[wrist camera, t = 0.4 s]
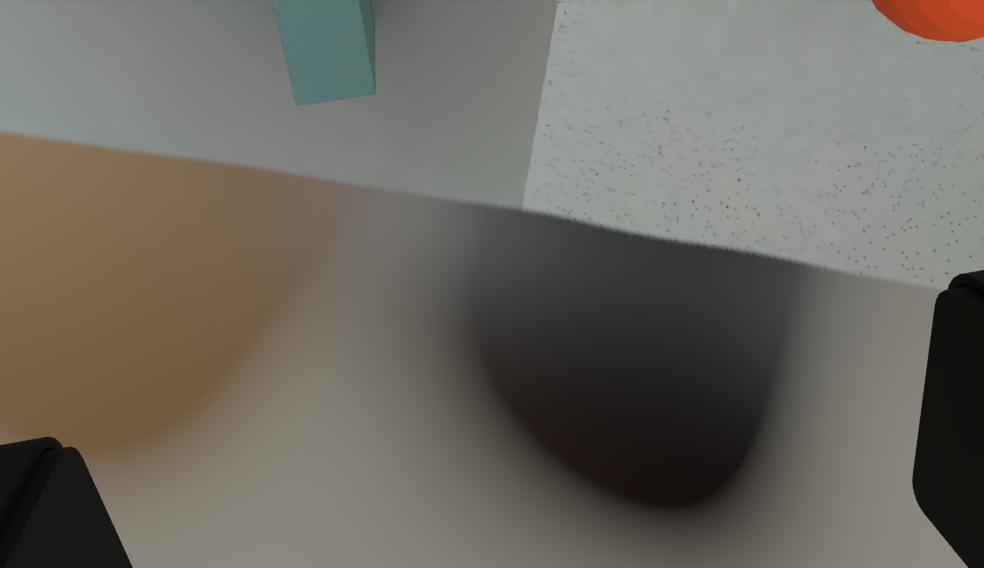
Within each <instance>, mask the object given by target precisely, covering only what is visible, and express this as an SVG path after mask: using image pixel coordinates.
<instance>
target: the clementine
mask: <svg viewBox="0 0 984 568" xmlns="http://www.w3.org/2000/svg"><path fill="white" fill-rule="evenodd" d="M872 2H873V4H874V5H875V7H876V9H877V10H879V11H880V12H881V13H882V14H883V15H885V16H886V17H887V18H888V19H889V20H891V21H892V22H893V23H894V24H896V25H897V26H898V27H900V28H901V29H902V30H904V31H906V32H909V33H911V34H914V35H917V36H920V37H922V38H925V39H932V40H938V41H956V42H965V41H969V40H973V39H978V38H982V37H984V0H872Z"/></svg>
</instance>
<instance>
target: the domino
mask: <svg viewBox="0 0 984 568" xmlns="http://www.w3.org/2000/svg"><path fill="white" fill-rule="evenodd" d="M272 2H273V7H274V11H275V15H276V20H277V24H278V29H279V33H280V37H281V42H282V46H283V50H284V55H285V59H286V64H287V68H288V72H289V77H290V81H291V85H292V90H293V94H294V99H295V103H296V106H297V105H304V104H311V103H318V102H325V101H332V100H338V99H345V98H352V97H359V96H366V95H373V94H376V87H375V23H374V17H373V12H372V6H371V0H272Z"/></svg>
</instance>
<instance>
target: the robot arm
mask: <svg viewBox="0 0 984 568" xmlns="http://www.w3.org/2000/svg"><path fill="white" fill-rule="evenodd" d="M912 483H913V490H914V494H915V497H916V500H917V502H918V504H919V506H920V508H921V509H922V511H923V512H924V514H925V515H926V516H927V518H928V519H929V520H930V521H931V522H932V524H933V525H934V526H935V527H936V529H937V530H938V531H939V532H940V534H941V535H942V536H943V537H944V538H945V540H946V541H947V542H948V543H949V545H951V547H952V548H953V549H954V551H955V552H956V553H957V554H958V556H959V557H960V558H961V559H962V560H963V562H964V563H965V564H966V565H967V566H968V568H984V270H981V271H975V272H970V273H964V274H959V275H958V276H956V277H954V278H953V279H952V281H951V282H950V284H949V287H948V290H944V291H943V292H941V293H940V294H939V295H938V297H937V299H936V303H935V308H934V316H933V323H932V332H931V339H930V346H929V354H928V362H927V370H926V378H925V385H924V393H923V401H922V408H921V416H920V423H919V431H918V439H917V447H916V455H915V462H914V469H913V479H912ZM0 568H133V567H132V565H131V563H130V561H129V558H128V556H127V554H126V552H125V550H124V547H123V545H122V543H121V541H120V539H119V536H118V534H117V532H116V530H115V528H114V526H113V523H112V521H111V519H110V517H109V515H108V512H107V510H106V508H105V506H104V504H103V501H102V499H101V497H100V495H99V493H98V491H97V488H96V486H95V484H94V482H93V479H92V477H91V475H90V473H89V471H88V469H87V466H86V464H85V462H84V460H83V458H82V456H81V454H80V453H79V451H78V450H77V449H75V448H73V447H66V448H63V446H62V445H61V444H60V442H58V441H57V440H56V439H55V438H52V437H43V438H38V439H32V440H27V441H21V442H15V443H9V444H4V445H0Z"/></svg>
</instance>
